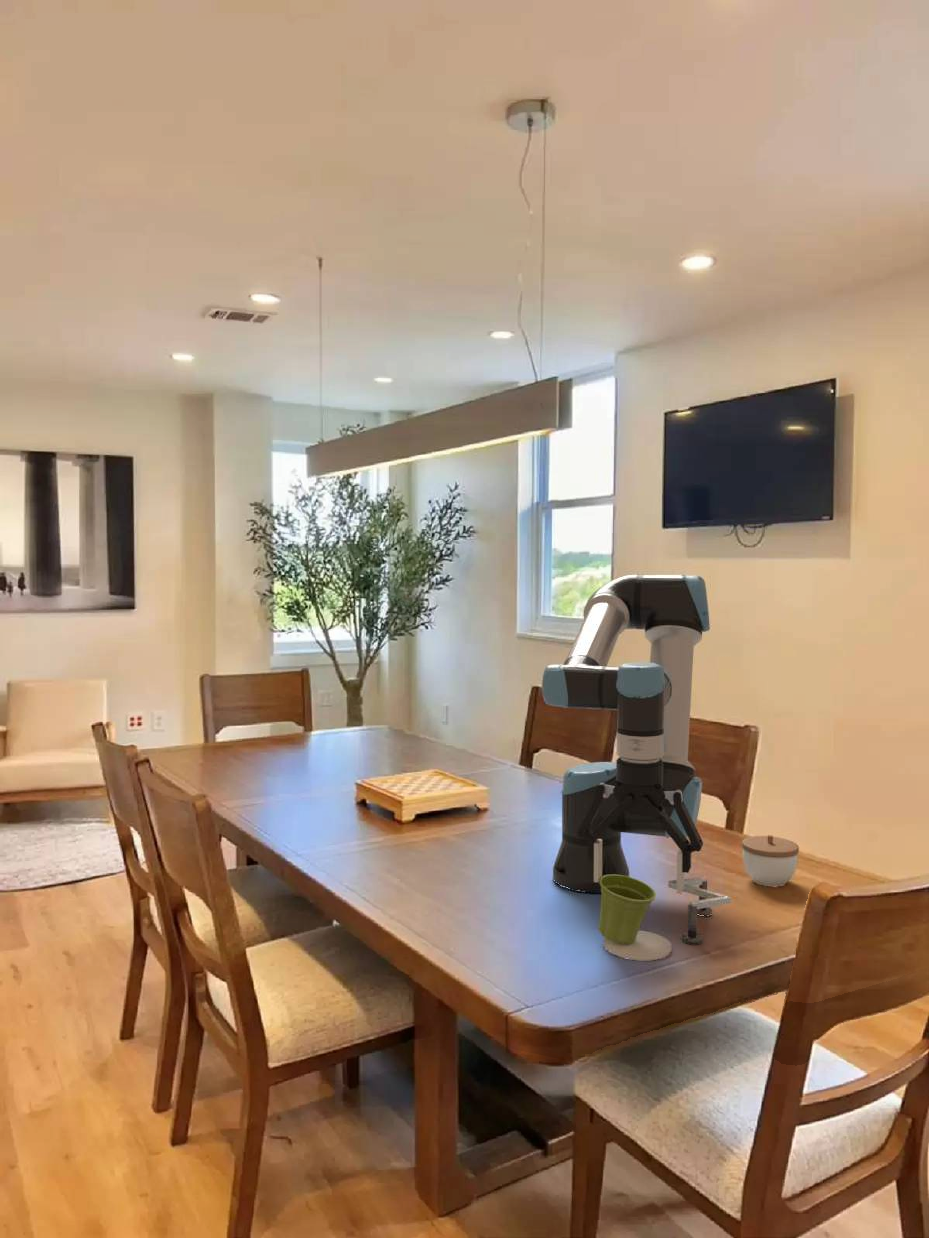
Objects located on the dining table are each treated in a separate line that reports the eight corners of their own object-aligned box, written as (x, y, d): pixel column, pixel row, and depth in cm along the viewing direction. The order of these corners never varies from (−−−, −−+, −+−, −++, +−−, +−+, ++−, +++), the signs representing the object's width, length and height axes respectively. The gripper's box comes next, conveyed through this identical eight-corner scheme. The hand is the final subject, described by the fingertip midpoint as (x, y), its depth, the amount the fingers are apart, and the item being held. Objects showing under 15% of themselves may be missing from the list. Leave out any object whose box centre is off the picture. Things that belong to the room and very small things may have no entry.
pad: (596, 954, 147) (596, 950, 147) (611, 929, 157) (611, 925, 157) (664, 965, 143) (665, 962, 143) (676, 939, 153) (676, 935, 153)
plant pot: (578, 931, 150) (590, 882, 149) (603, 915, 158) (613, 868, 157) (630, 956, 145) (642, 906, 144) (652, 938, 153) (664, 890, 152)
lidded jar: (761, 893, 174) (763, 845, 174) (730, 875, 185) (731, 830, 184) (809, 888, 177) (810, 841, 177) (776, 870, 188) (777, 826, 187)
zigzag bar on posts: (656, 938, 153) (657, 900, 153) (672, 905, 168) (673, 870, 168) (725, 949, 149) (726, 910, 148) (735, 914, 164) (736, 878, 163)
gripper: (559, 756, 149) (558, 882, 151) (715, 770, 140) (713, 904, 142) (571, 747, 156) (571, 867, 158) (721, 759, 147) (719, 887, 148)
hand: (638, 885), depth 150 cm, fingers open, 13 cm apart
